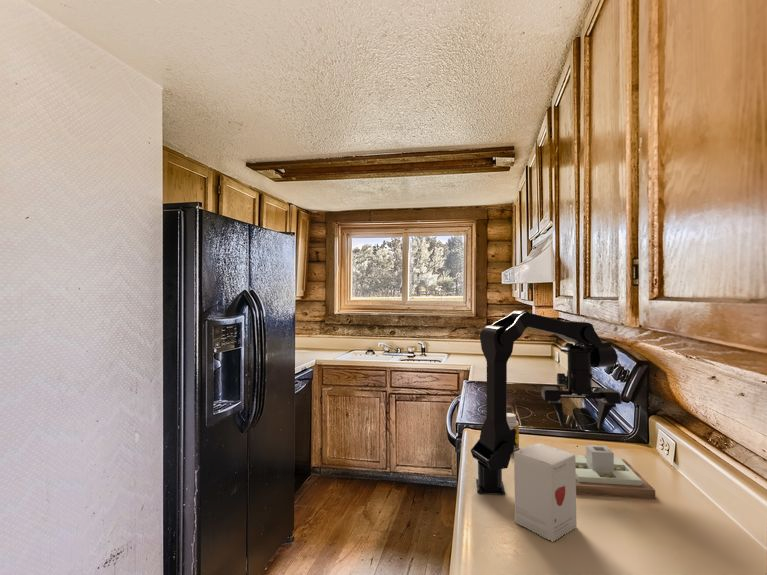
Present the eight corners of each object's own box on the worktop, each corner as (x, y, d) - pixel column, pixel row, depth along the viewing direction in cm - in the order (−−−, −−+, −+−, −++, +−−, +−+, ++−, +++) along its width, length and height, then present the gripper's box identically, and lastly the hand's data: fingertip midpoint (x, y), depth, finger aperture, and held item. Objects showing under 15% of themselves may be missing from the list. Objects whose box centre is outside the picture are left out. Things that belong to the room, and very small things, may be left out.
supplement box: (553, 544, 79) (551, 465, 79) (513, 523, 86) (512, 451, 86) (578, 527, 84) (576, 453, 84) (539, 509, 92) (537, 441, 92)
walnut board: (655, 498, 95) (654, 468, 95) (572, 493, 98) (571, 463, 98) (624, 466, 113) (623, 440, 113) (554, 462, 116) (554, 437, 116)
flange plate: (619, 461, 111) (618, 440, 111) (641, 485, 98) (641, 461, 98) (563, 458, 114) (563, 438, 114) (578, 481, 100) (578, 458, 100)
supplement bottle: (501, 450, 126) (500, 417, 126) (499, 444, 131) (498, 411, 131) (520, 451, 125) (520, 417, 125) (517, 444, 130) (516, 412, 130)
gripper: (607, 364, 117) (608, 420, 116) (537, 362, 120) (538, 416, 120) (621, 371, 106) (623, 433, 105) (544, 369, 109) (545, 429, 109)
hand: (580, 427), depth 110 cm, fingers open, 9 cm apart
